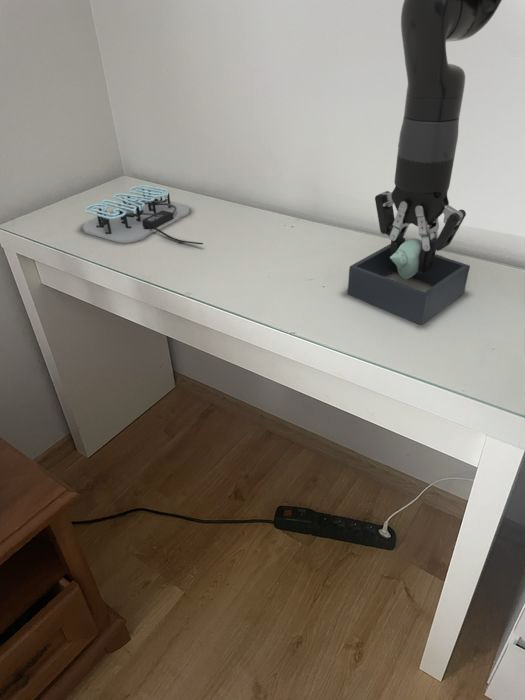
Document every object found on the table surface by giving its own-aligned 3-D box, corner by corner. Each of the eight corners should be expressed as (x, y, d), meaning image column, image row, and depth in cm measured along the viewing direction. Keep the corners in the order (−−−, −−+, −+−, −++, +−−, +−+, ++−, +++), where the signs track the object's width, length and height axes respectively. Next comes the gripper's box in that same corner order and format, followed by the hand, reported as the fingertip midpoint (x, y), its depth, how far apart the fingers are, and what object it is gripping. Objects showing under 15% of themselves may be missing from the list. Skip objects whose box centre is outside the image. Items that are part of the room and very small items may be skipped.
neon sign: (181, 239, 94) (70, 210, 107) (184, 261, 97) (75, 230, 110) (247, 202, 108) (142, 180, 122) (248, 221, 111) (145, 198, 124)
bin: (463, 293, 84) (470, 265, 81) (421, 325, 77) (426, 295, 74) (391, 267, 92) (395, 240, 89) (347, 294, 85) (349, 266, 82)
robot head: (410, 266, 86) (416, 227, 82) (432, 274, 84) (439, 234, 80) (382, 284, 82) (387, 243, 78) (405, 292, 79) (411, 251, 75)
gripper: (489, 154, 70) (464, 272, 79) (396, 138, 78) (384, 246, 88) (461, 168, 65) (438, 290, 75) (366, 149, 74) (357, 261, 84)
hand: (409, 265), depth 82 cm, fingers closed on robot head, 4 cm apart
